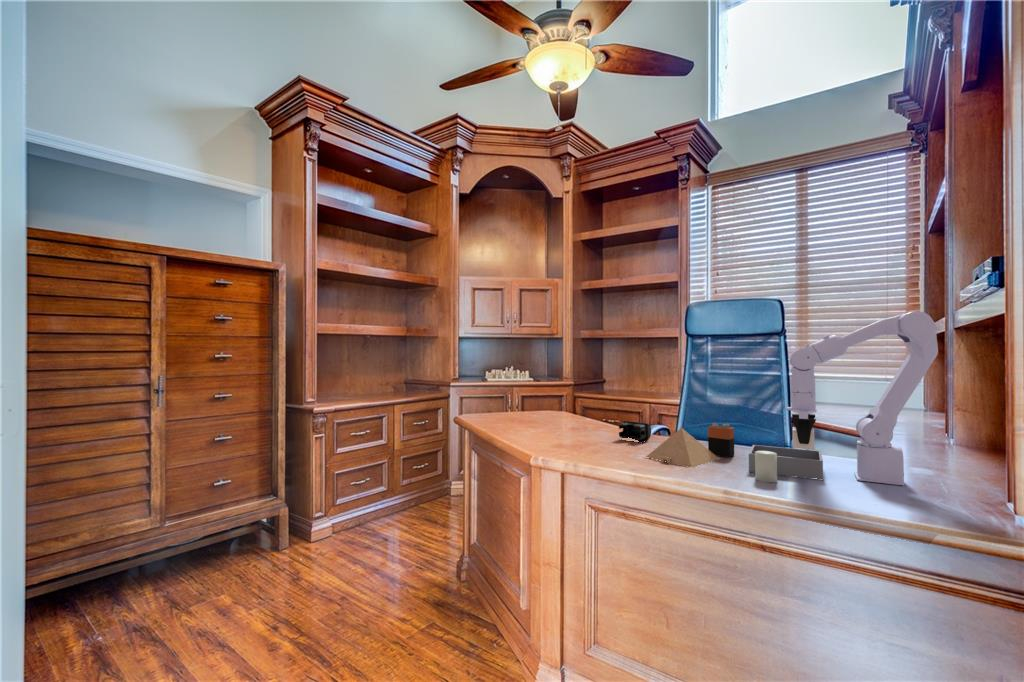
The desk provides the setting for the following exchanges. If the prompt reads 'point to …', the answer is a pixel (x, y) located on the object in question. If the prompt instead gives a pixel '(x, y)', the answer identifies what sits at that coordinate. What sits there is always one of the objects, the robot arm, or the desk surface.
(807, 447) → the cube
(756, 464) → the cylinder
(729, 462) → the desk surface
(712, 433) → the battery
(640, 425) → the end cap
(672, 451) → the model pyramid
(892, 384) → the robot arm
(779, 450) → the tote
